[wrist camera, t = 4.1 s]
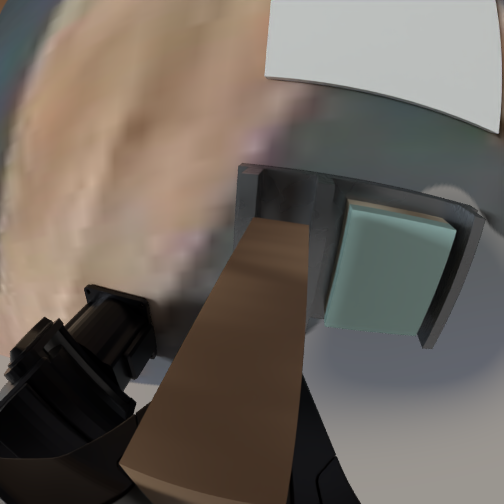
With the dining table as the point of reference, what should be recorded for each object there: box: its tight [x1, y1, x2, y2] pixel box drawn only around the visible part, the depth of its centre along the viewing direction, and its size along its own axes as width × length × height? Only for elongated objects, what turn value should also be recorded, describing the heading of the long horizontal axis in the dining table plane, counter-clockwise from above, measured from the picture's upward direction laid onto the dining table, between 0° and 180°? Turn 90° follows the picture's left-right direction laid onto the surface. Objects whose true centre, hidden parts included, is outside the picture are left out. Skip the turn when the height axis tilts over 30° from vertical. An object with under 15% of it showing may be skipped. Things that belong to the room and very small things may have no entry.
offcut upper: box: [324, 204, 457, 336], centre depth 15 cm, size 6×7×1 cm
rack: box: [233, 163, 486, 349], centre depth 16 cm, size 14×9×3 cm, turn 86°
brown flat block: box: [119, 217, 309, 504], centre depth 8 cm, size 2×7×9 cm, turn 175°
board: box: [265, 0, 502, 134], centre depth 10 cm, size 14×12×1 cm
